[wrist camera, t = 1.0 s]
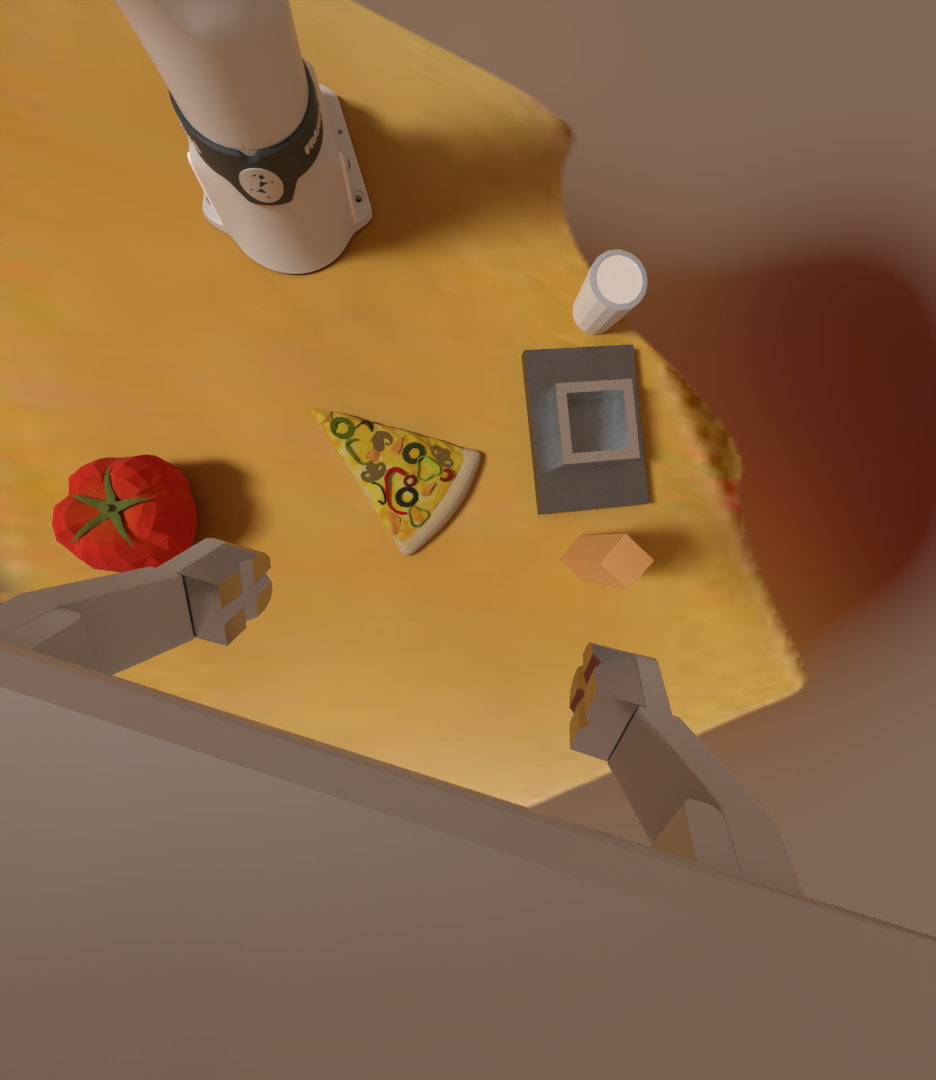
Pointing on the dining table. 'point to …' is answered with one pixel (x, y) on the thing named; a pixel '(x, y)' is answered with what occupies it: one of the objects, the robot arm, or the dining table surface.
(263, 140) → the robot arm
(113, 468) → the tomato
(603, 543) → the orange rectangular block
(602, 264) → the white tapered cup
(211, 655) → the dining table surface
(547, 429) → the square socket plate
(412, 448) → the pizza slice
